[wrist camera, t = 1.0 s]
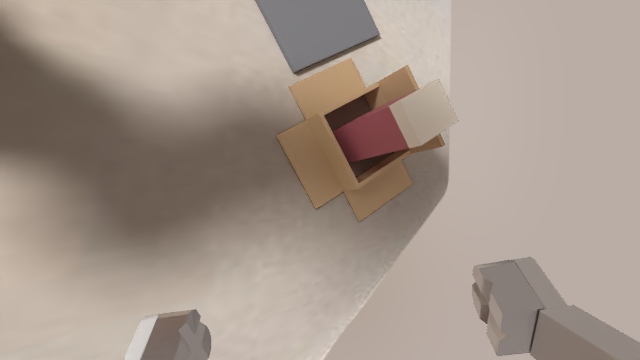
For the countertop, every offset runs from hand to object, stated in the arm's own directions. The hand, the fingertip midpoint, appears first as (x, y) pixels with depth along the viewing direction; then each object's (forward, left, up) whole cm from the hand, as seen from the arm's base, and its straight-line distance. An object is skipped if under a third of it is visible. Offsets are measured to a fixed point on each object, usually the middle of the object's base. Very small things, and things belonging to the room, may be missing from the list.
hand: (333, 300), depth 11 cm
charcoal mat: (-18, +29, -36) cm, 50 cm away
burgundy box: (0, +25, -36) cm, 44 cm away
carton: (0, +23, -36) cm, 42 cm away
